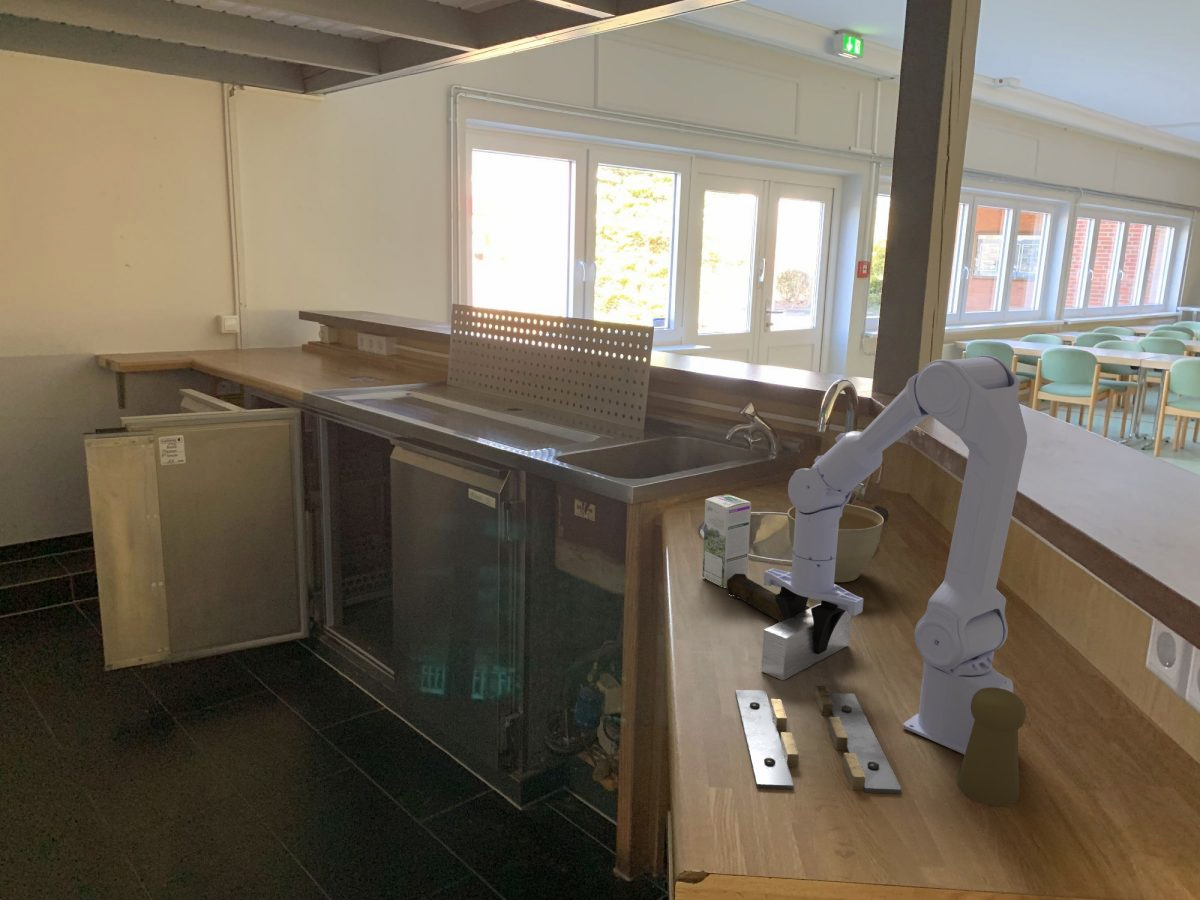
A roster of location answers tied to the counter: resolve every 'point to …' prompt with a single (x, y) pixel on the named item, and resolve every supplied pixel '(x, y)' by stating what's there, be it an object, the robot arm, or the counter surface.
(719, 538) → the syrup box
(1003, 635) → the robot arm
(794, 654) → the aluminum bar stock
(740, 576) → the brown wooden log
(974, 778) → the cork
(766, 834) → the counter surface
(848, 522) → the planter bowl
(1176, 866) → the counter surface
